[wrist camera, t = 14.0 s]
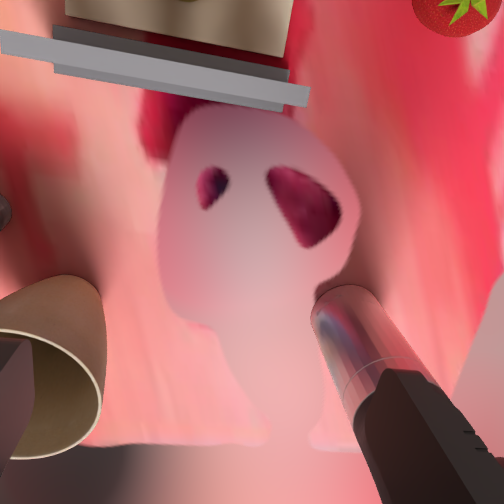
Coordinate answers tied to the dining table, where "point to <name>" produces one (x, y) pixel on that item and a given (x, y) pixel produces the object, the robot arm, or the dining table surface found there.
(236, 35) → the board
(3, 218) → the beverage cup
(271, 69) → the screen
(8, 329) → the plant pot
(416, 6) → the strawberry
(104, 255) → the dining table surface
